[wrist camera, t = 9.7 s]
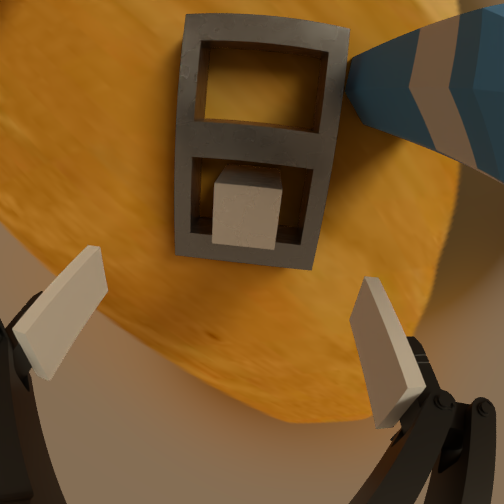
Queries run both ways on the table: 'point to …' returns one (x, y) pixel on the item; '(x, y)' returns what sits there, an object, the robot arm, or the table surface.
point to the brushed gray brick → (247, 206)
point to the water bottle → (439, 88)
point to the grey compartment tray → (256, 132)
